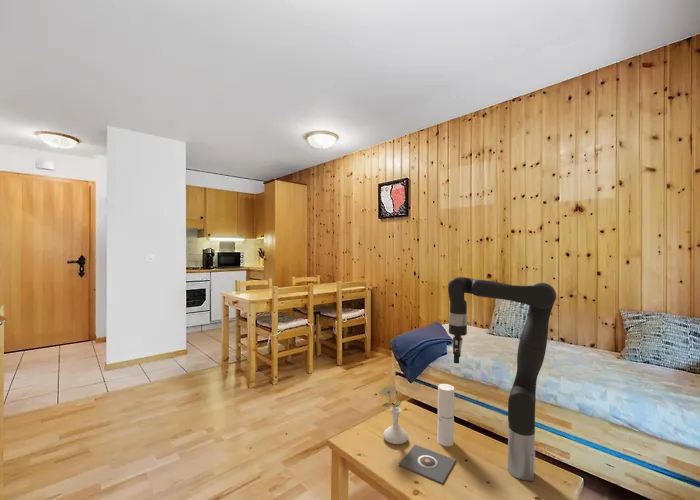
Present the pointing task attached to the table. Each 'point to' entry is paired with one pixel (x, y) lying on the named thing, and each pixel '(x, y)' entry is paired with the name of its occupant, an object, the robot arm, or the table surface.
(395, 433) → the flower in vase
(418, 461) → the pad
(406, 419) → the table surface
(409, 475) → the table surface
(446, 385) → the cylindrical container
